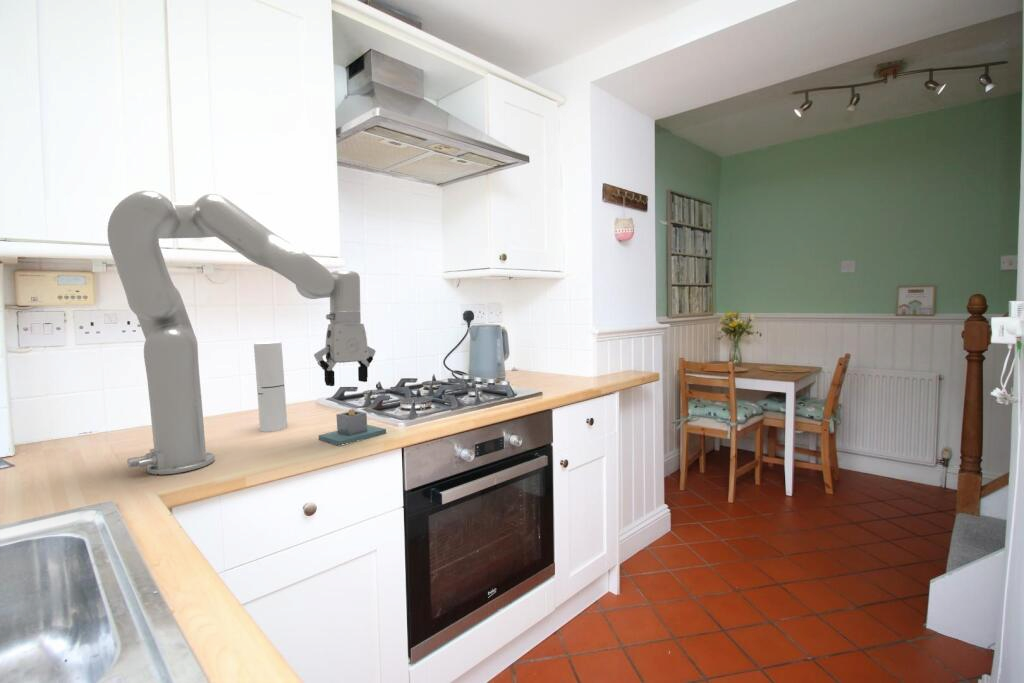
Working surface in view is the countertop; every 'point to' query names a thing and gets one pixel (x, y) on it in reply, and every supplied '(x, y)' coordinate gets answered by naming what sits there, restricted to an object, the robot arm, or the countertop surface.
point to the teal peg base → (343, 439)
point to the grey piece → (270, 386)
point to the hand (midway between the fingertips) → (346, 383)
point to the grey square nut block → (351, 423)
